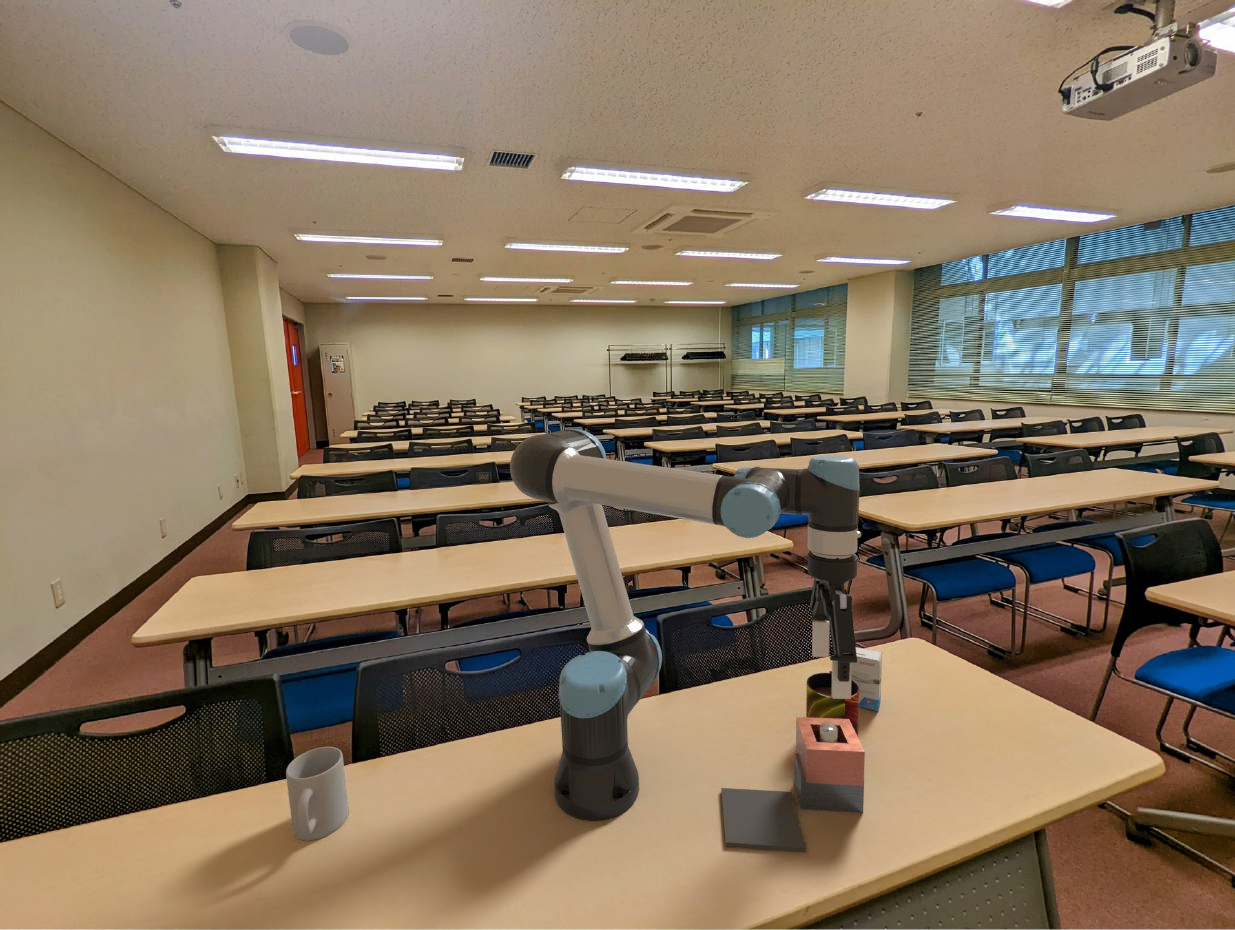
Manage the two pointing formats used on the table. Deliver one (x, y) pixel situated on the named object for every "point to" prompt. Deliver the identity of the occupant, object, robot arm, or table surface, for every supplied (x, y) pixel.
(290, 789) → the mug
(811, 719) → the red square hollow block
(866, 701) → the ink box
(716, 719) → the table surface
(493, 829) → the table surface
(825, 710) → the mug
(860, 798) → the toggle switch
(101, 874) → the table surface
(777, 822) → the mat
